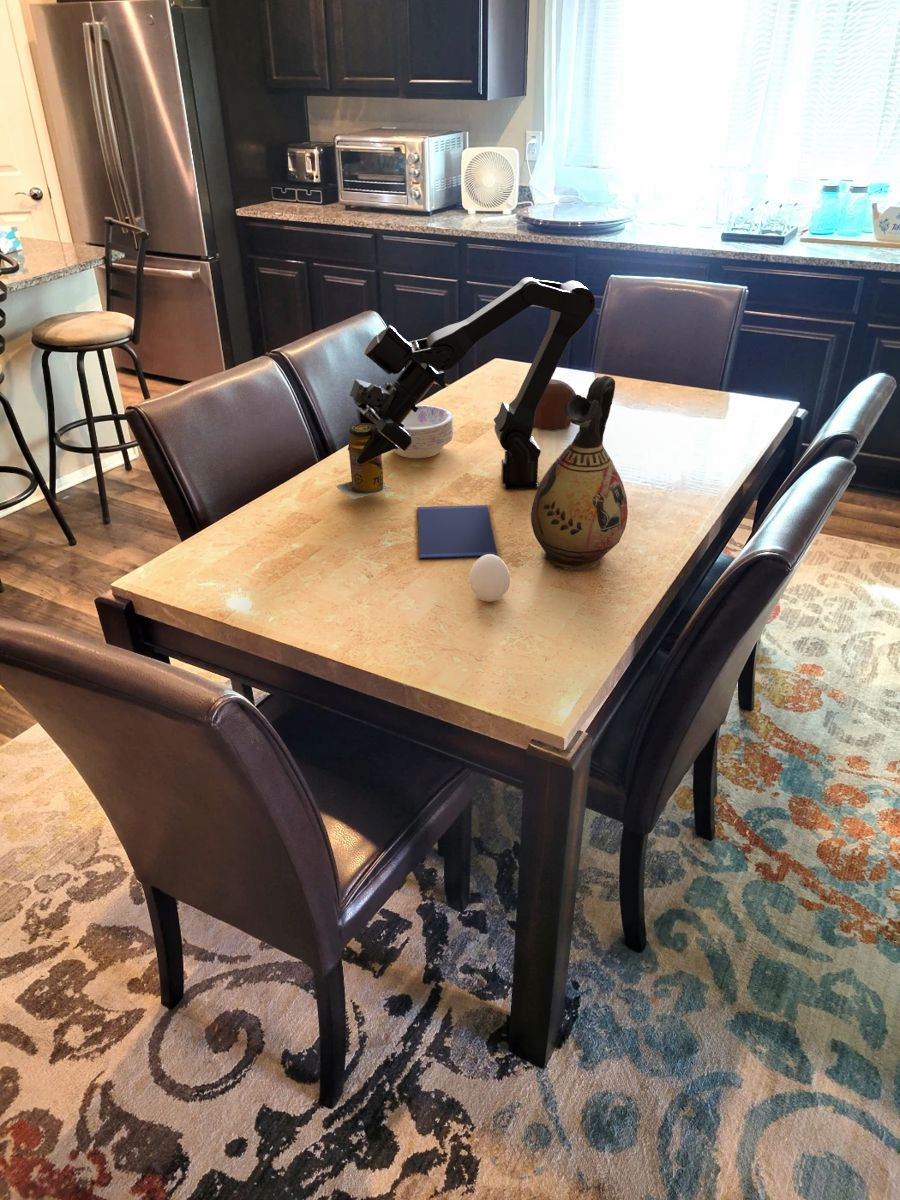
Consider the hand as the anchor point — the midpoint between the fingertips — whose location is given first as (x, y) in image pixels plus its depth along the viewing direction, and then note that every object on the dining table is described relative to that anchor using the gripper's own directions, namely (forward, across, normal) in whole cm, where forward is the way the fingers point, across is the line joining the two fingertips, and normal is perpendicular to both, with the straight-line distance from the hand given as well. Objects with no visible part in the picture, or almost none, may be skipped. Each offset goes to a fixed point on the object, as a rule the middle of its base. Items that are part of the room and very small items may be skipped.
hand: (353, 456), depth 158 cm
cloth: (-2, +20, +15) cm, 25 cm away
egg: (0, +44, +13) cm, 45 cm away
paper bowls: (-7, -20, +20) cm, 29 cm away
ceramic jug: (-13, +36, +27) cm, 47 cm away
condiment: (+4, 0, +6) cm, 7 cm away
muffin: (-31, -24, +44) cm, 59 cm away
